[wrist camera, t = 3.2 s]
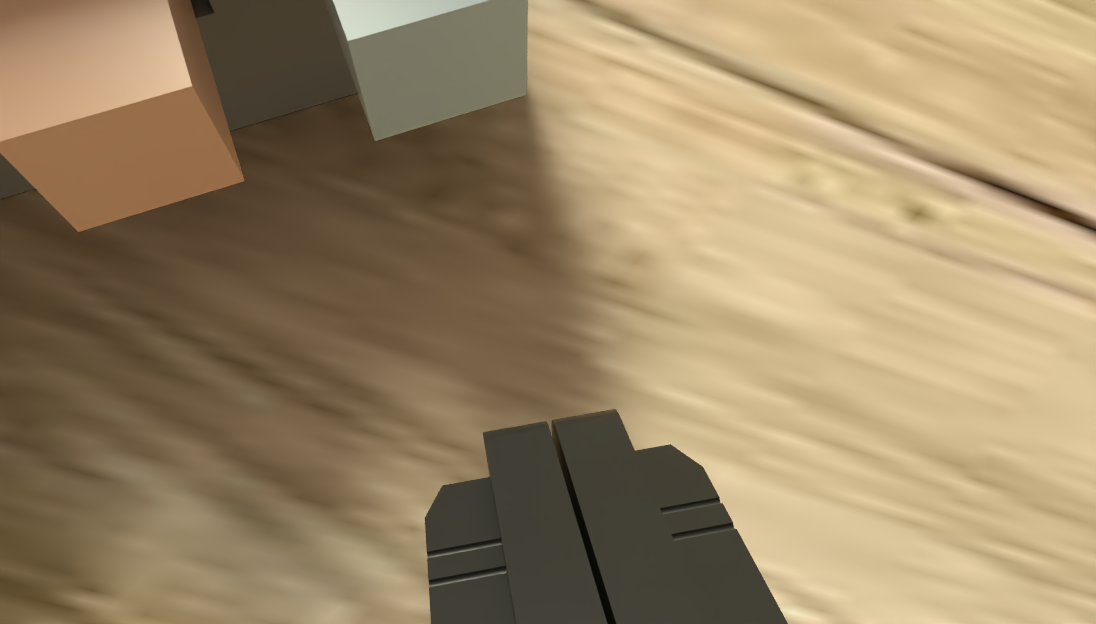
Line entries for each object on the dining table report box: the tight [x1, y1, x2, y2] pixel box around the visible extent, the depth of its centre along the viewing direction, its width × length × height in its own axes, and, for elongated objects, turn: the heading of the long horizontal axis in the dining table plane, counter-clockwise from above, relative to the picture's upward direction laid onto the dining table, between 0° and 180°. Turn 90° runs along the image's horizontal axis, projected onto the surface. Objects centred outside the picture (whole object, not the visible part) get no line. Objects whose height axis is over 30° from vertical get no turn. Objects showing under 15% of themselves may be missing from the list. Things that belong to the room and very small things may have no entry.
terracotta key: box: [0, 0, 245, 232], centre depth 25 cm, size 4×8×4 cm, turn 21°
